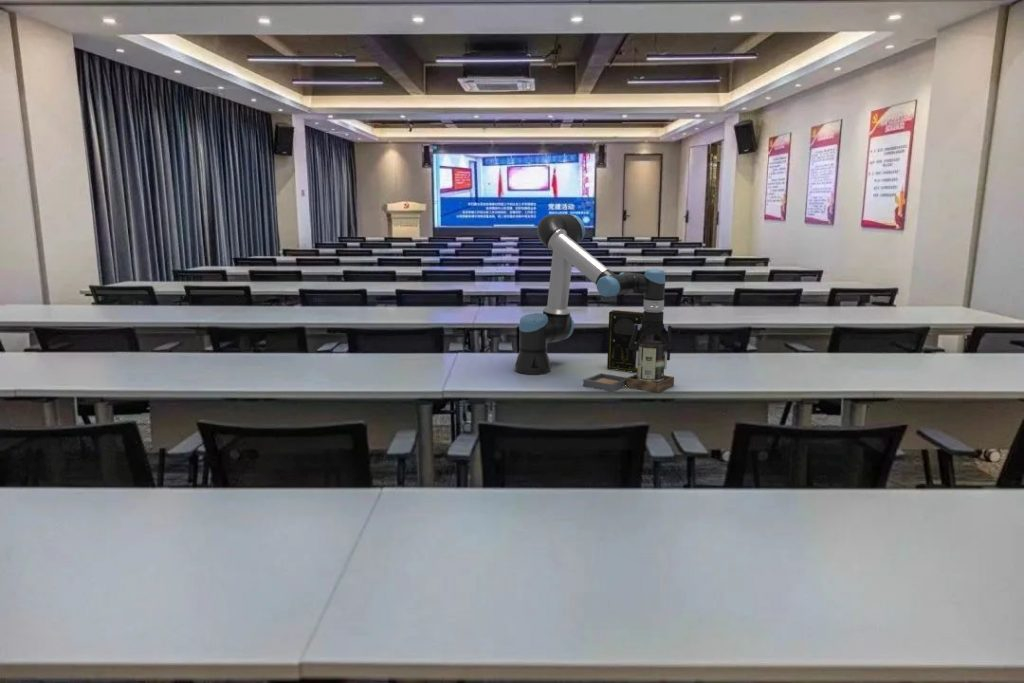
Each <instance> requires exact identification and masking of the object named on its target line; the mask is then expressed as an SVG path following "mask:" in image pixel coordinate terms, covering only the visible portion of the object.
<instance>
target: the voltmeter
mask: <svg viewBox="0 0 1024 683" xmlns="http://www.w3.org/2000/svg"><path fill="white" fill-rule="evenodd" d="M643 312H644V311H643ZM643 312H642V311H641V312H640V311H630V310H618V309H613V310H611V311H609V312H608V333H607V334H608V335H607V336H608V337H607V364H606V368H607V370H611V369H618V370H617V371H619V370H625V371H624V372H627V371H632V372H631V373H635V372H638V368H636V359H633V350H630V349H629V344H630V341H631V338H632V335H633V332H634V330H635V329H634V325H635V324H642V323H643ZM643 332H644V330H643V328H642V327H641V328H640V330H638V332H637V335H636V338H635V341H634V344H633V347H634V346H635V345H636V343H637V342H638V340H639V339H640V337H641V336H642V334H643ZM647 337H648V335H647V336H646V337H645V338H644V340H643V341H645V340H647ZM637 350H638V349H637Z"/></svg>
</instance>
